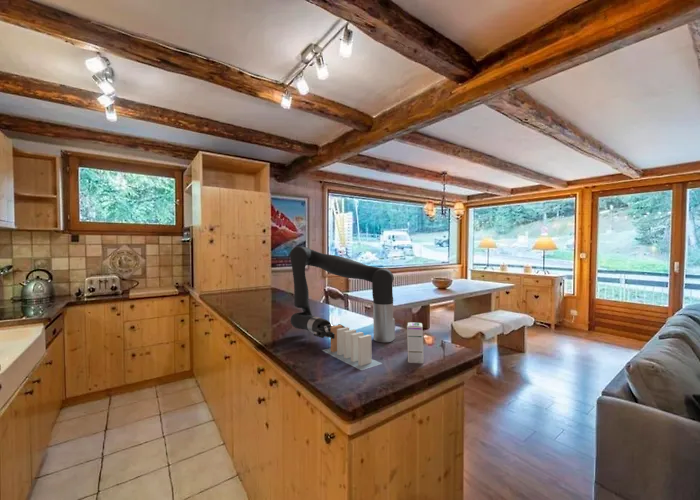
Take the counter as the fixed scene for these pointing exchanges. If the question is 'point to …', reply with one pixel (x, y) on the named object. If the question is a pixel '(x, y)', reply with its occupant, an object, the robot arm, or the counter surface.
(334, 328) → the domino
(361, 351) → the domino
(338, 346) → the domino
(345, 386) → the counter surface
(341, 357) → the board
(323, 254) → the robot arm
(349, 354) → the domino
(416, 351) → the syrup box
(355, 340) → the domino
